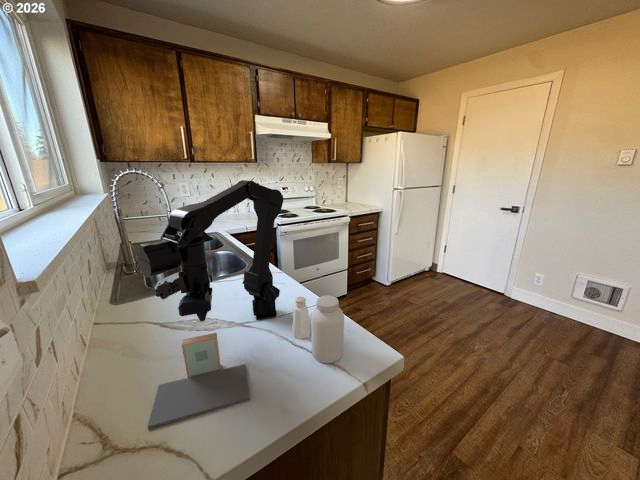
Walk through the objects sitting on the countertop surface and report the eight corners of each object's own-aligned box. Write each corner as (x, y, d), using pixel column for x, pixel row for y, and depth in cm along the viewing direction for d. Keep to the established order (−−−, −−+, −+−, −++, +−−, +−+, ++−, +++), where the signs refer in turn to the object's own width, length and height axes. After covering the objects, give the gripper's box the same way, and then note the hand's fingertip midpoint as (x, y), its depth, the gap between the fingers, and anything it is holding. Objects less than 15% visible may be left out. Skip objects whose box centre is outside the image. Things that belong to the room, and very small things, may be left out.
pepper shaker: (287, 333, 75) (286, 298, 72) (301, 325, 79) (300, 291, 76) (301, 342, 72) (300, 306, 68) (315, 333, 75) (314, 298, 72)
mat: (245, 366, 63) (245, 363, 63) (249, 400, 54) (249, 397, 54) (159, 387, 58) (159, 384, 57) (148, 429, 49) (147, 426, 48)
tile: (220, 364, 64) (216, 332, 61) (220, 370, 62) (216, 338, 59) (188, 372, 62) (182, 339, 59) (187, 379, 60) (181, 345, 57)
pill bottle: (320, 369, 62) (320, 312, 58) (306, 348, 69) (305, 296, 65) (349, 357, 66) (351, 303, 62) (333, 339, 73) (333, 289, 68)
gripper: (162, 253, 68) (172, 307, 73) (143, 284, 51) (158, 352, 56) (209, 248, 72) (216, 300, 76) (206, 276, 55) (215, 340, 59)
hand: (202, 320), depth 67 cm, fingers closed
